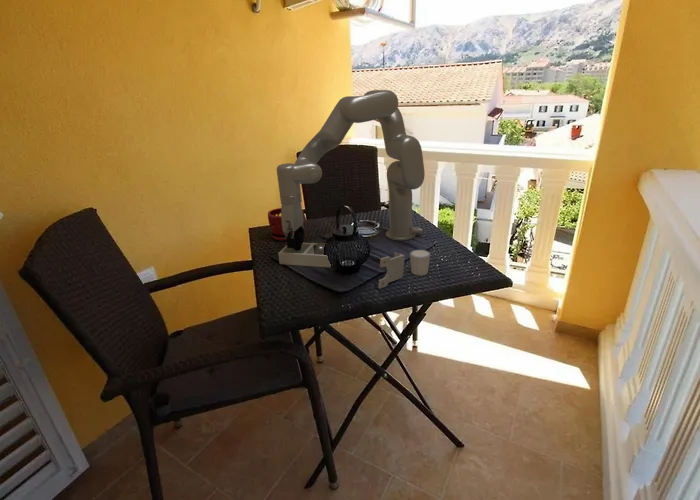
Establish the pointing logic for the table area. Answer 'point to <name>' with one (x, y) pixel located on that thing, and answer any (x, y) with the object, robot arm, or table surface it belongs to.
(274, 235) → the plant pot
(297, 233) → the light bulb
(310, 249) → the box
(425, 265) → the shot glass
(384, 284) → the bracket
